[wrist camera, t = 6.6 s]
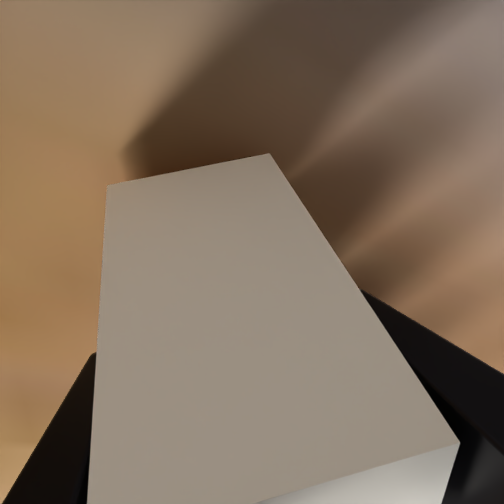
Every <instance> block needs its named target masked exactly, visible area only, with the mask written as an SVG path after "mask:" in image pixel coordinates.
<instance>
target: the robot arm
mask: <svg viewBox="0 0 504 504" xmlns="http://www.w3.org/2000/svg"><path fill="white" fill-rule="evenodd" d="M359 290H360V291H361V293H362V294H363V296H364V297H365V299H366V300H367V302H368V303H369V305H370V306H371V308H372V310H373V311H374V313H375V314H376V316H377V317H378V319H379V320H380V322H381V323H382V325H383V326H384V328H385V329H386V331H387V332H388V334H389V335H390V337H391V338H392V340H393V341H394V343H395V344H396V346H397V347H398V349H399V350H400V352H401V353H402V355H403V357H404V358H405V360H406V361H407V363H408V364H409V366H410V367H411V369H412V370H413V372H414V373H415V375H416V376H417V378H418V379H419V381H420V382H421V384H422V385H423V387H424V388H425V390H426V391H427V393H428V394H429V396H430V397H431V399H432V401H433V402H434V404H435V405H436V407H437V408H438V410H439V411H440V413H441V414H442V416H443V417H444V419H445V420H446V422H447V423H448V425H449V426H450V428H451V429H452V431H453V432H454V434H455V435H456V437H457V438H458V440H459V441H460V445H459V448H458V451H457V454H456V458H455V461H454V464H453V467H452V471H451V474H450V477H449V480H448V484H447V487H446V490H445V493H444V496H443V500H442V503H441V504H504V374H503V373H501V372H499V371H498V370H496V369H494V368H493V367H491V366H489V365H488V364H486V363H484V362H483V361H481V360H479V359H478V358H476V357H474V356H473V355H471V354H469V353H468V352H466V351H464V350H463V349H461V348H459V347H458V346H456V345H454V344H453V343H451V342H449V341H448V340H446V339H444V338H443V337H441V336H439V335H437V334H436V333H434V332H432V331H431V330H429V329H427V328H426V327H424V326H422V325H421V324H419V323H417V322H416V321H414V320H412V319H411V318H409V317H407V316H406V315H404V314H402V313H401V312H399V311H397V310H396V309H394V308H392V307H391V306H389V305H387V304H386V303H384V302H382V301H381V300H379V299H377V298H376V297H374V296H372V295H371V294H369V293H367V292H366V291H364V290H362V289H359ZM96 354H97V352H95V353H93V354H92V355H91V356H90V357H89V359H88V360H87V362H86V364H85V365H84V367H83V369H82V370H81V372H80V374H79V375H78V377H77V379H76V380H75V382H74V384H73V385H72V387H71V389H70V391H69V392H68V394H67V396H66V397H65V399H64V401H63V402H62V404H61V406H60V407H59V409H58V411H57V412H56V414H55V416H54V417H53V419H52V421H51V422H50V424H49V426H48V427H47V429H46V431H45V432H44V434H43V436H42V437H41V439H40V441H39V443H38V444H37V446H36V448H35V449H34V451H33V453H32V454H31V456H30V458H29V459H28V461H27V463H26V464H25V466H24V468H23V469H22V471H21V473H20V474H19V476H18V478H17V479H16V481H15V483H14V484H13V486H12V488H11V490H10V491H9V493H8V495H7V496H6V498H5V500H4V501H3V503H2V504H87V497H88V481H89V465H90V449H91V433H92V417H93V401H94V386H95V370H96Z"/></svg>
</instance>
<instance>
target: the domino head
mask: <svg viewBox="0 0 504 504" xmlns="http://www.w3.org/2000/svg"><path fill="white" fill-rule="evenodd" d="M459 445H460V441H459V440H458V438H457V437H456V435H455V434H454V432H453V431H452V429H451V428H450V426H449V425H448V423H447V422H446V420H445V419H444V417H443V416H442V414H441V413H440V411H439V410H438V408H437V407H436V405H435V404H434V402H433V401H432V399H431V397H430V396H429V394H428V393H427V391H426V390H425V388H424V387H423V385H422V384H421V382H420V381H419V379H418V378H417V376H416V375H415V373H414V372H413V370H412V369H411V367H410V366H409V364H408V363H407V361H406V360H405V358H404V357H403V355H402V353H401V352H400V350H399V349H398V347H397V346H396V344H395V343H394V341H393V340H392V338H391V337H390V335H389V334H388V332H387V331H386V329H385V328H384V326H383V325H382V323H381V322H380V320H379V319H378V317H377V316H376V314H375V313H374V311H373V310H372V308H371V306H370V305H369V303H368V302H367V300H366V299H365V297H364V296H363V294H362V293H361V291H360V290H359V288H358V287H357V285H356V284H355V282H354V281H353V279H352V278H351V276H350V275H349V273H348V272H347V270H346V269H345V267H344V266H343V264H342V262H341V261H340V259H339V258H338V256H337V255H336V253H335V252H334V250H333V249H332V247H331V246H330V244H329V243H328V241H327V240H326V238H325V237H324V235H323V234H322V232H321V231H320V229H319V228H318V226H317V225H316V223H315V222H314V220H313V218H312V217H311V215H310V214H309V212H308V211H307V209H306V208H305V206H304V205H303V203H302V202H301V200H300V199H299V197H298V196H297V194H296V193H295V191H294V190H293V188H292V187H291V185H290V184H289V182H288V181H287V179H286V178H285V176H284V174H283V173H282V171H281V170H280V168H279V167H278V165H277V164H276V162H275V161H274V159H273V158H272V156H271V155H270V153H268V154H263V155H258V156H253V157H248V158H243V159H238V160H233V161H228V162H223V163H218V164H212V165H207V166H202V167H197V168H192V169H187V170H182V171H177V172H172V173H167V174H162V175H157V176H152V177H147V178H142V179H137V180H132V181H126V182H121V183H116V184H111V185H107V195H106V211H105V227H104V243H103V259H102V274H101V290H100V306H99V322H98V338H97V354H96V370H95V386H94V401H93V417H92V433H91V449H90V465H89V481H88V497H87V504H441V503H442V500H443V496H444V493H445V490H446V487H447V484H448V480H449V477H450V474H451V471H452V467H453V464H454V461H455V458H456V454H457V451H458V448H459Z"/></svg>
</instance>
